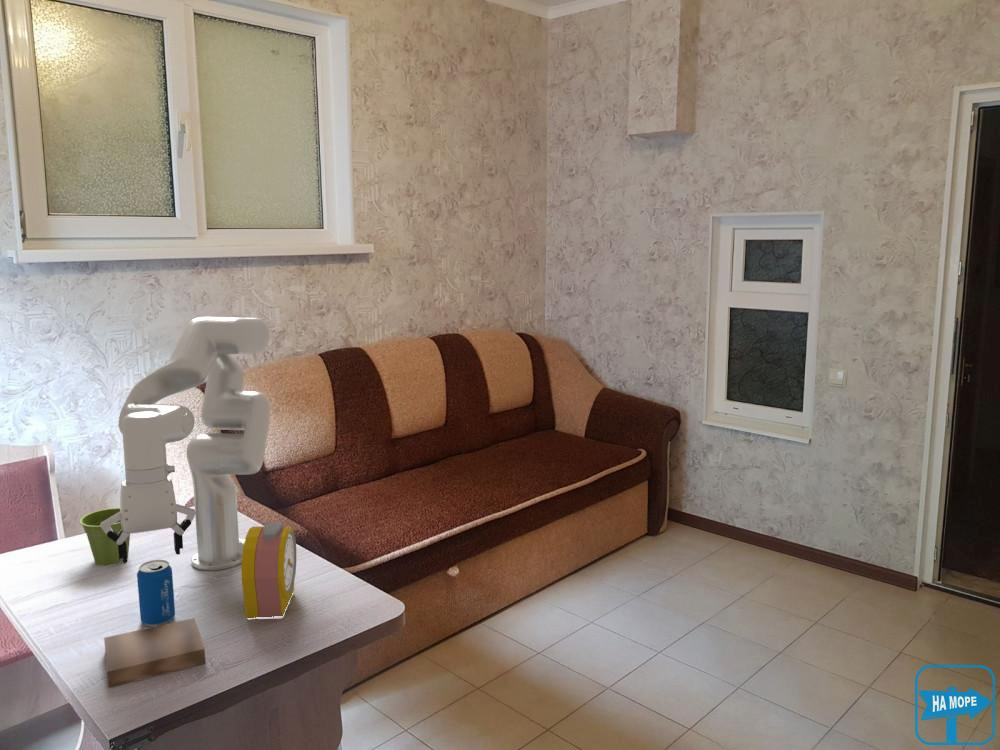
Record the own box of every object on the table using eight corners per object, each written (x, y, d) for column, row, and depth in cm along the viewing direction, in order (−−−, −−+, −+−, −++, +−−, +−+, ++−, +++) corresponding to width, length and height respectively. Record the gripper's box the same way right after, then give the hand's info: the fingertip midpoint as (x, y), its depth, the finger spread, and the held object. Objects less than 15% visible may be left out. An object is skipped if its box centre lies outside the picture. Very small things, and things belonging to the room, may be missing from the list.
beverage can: (153, 631, 152) (149, 575, 150) (134, 622, 155) (129, 567, 153) (182, 618, 157) (178, 563, 155) (162, 609, 160) (158, 556, 158)
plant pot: (77, 559, 185) (73, 515, 183) (129, 546, 193) (126, 504, 191) (91, 575, 176) (87, 529, 174) (145, 561, 184) (141, 517, 182)
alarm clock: (285, 623, 155) (281, 538, 152) (244, 624, 155) (239, 539, 151) (298, 590, 170) (295, 512, 167) (261, 590, 169) (257, 512, 166)
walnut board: (195, 631, 152) (194, 617, 151) (205, 663, 140) (204, 648, 140) (105, 652, 144) (104, 637, 143) (108, 687, 133) (107, 671, 132)
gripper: (190, 464, 158) (194, 543, 160) (96, 475, 149) (102, 558, 152) (195, 473, 151) (200, 555, 154) (97, 485, 143) (104, 571, 145)
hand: (151, 556), depth 153 cm, fingers open, 9 cm apart
